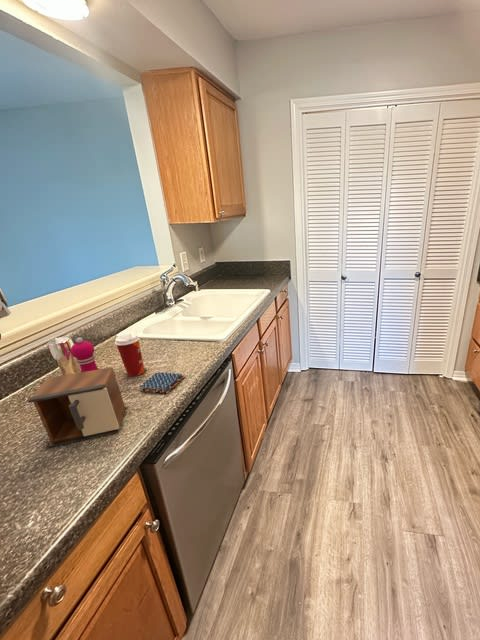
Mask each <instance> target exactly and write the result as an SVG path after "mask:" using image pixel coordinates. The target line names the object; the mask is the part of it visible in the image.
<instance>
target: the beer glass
mask: <svg viewBox="0 0 480 640" xmlns="http://www.w3.org/2000/svg"><path fill="white" fill-rule="evenodd" d="M47 344H48V348H49V351H50V354H51V357H52V359H53V361H54V362H55V364H56V366H57V367H58V369H59V370H60V372H61V374H62V375H61V376H63V375H69V374H75V373H81V368H80V365H79V364H77V361H76V358H75V357H73V356H72V354H71V347H72V346H73V345H74V344H75V343H74V341H73V339H72V337H71V336H66V335H65V336H59V337H56V338H53V339H50V340H49V341H48V342H47Z"/></svg>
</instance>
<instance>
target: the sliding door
mask: <svg viewBox="0 0 480 640" xmlns="http://www.w3.org/2000/svg"><path fill="white" fill-rule="evenodd" d="M68 397H69V400H70V402H71V404H70V405H69V409H70V411H71V414H72V416H73V419H74V421H75V424H76V426H77V429H78V430H82V433H83V435H84V436H88V435H93V434H98V433H102V432H107V431H111V430H116V429H119V430H120V427H119V424H118V421H117V418H116V415H115V412H114V409H113V406H112V403H111V400H110V397H109V394H108V391H107V388H103V389H100V390H95V391H90V392H84V393H79V394H73V395H68Z"/></svg>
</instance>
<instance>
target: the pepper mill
mask: <svg viewBox="0 0 480 640" xmlns="http://www.w3.org/2000/svg"><path fill="white" fill-rule="evenodd" d="M83 339H84V338H83V337H76V338H75V342H76V343H74V345H73V346H72V347H71V354H72V356H73V357H75V358H76V361H77V364H79V368H80V370H81V372H87V371H93V370H98V369H100V368H99V366H97V363H96V361H95V360H96V357H95V356H96V355H95V347H94V345H93V343H92V342H89V341H87V340H83Z"/></svg>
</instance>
